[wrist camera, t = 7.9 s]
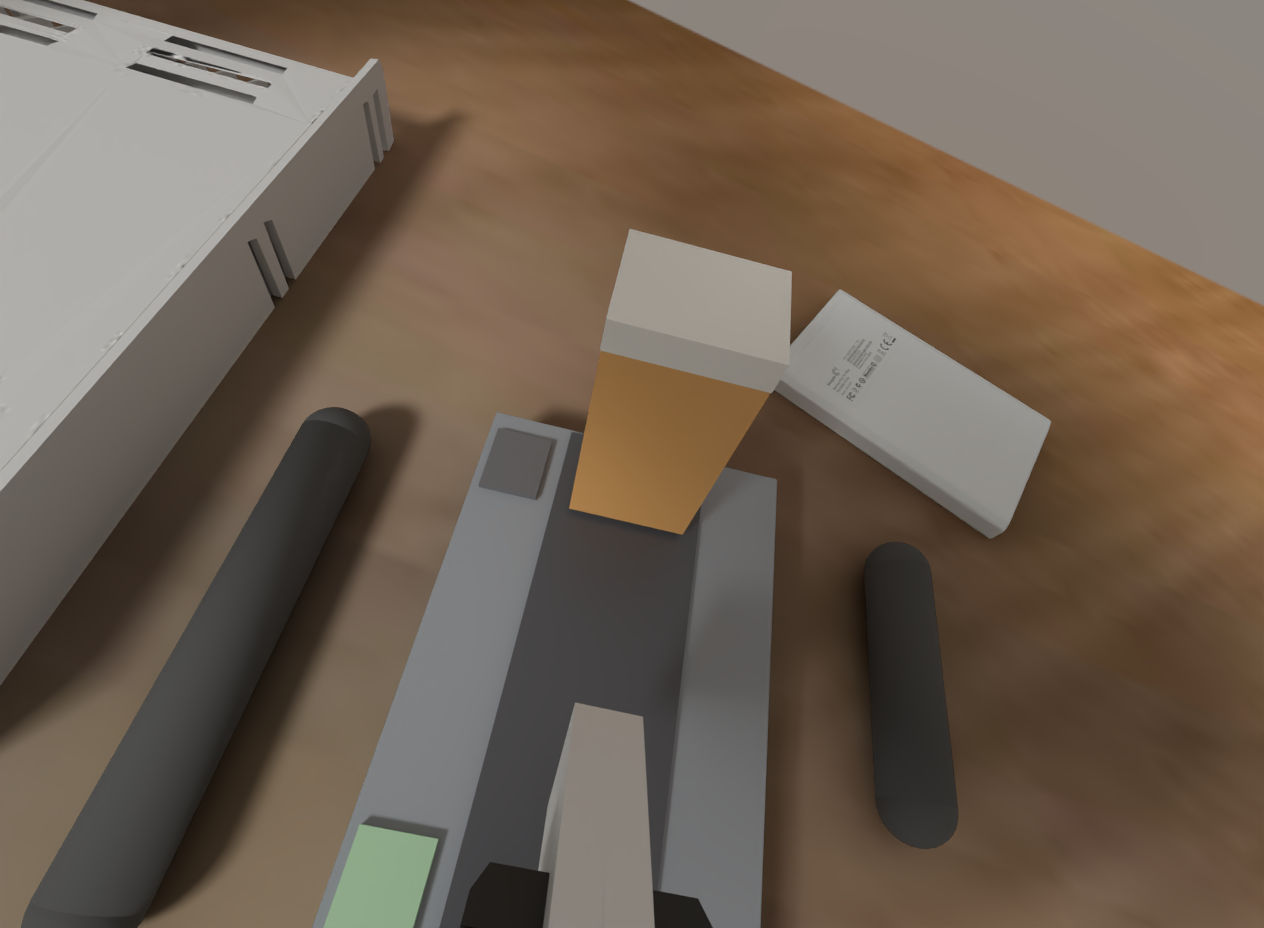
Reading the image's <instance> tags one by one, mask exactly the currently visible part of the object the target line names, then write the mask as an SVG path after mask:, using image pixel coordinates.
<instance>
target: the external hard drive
mask: <svg viewBox="0 0 1264 928" xmlns="http://www.w3.org/2000/svg"><path fill="white" fill-rule="evenodd" d="M774 390H775V391H776V392H778V393H779V394H780V395H782V396H783V397H785V398H786V399H788V400H789V401H791V402H792V403H793V404H795V405H796V406H798V407H799V408H801V409H802V410H804V411H805V412H807V413H808V414H809V415H811V416H812V417H814V418H815V419H817V420H818V421H820V422H821V423H822V424H824V425H825V426H827V427H828V428H830V429H831V430H833V431H834V432H835V433H837V434H838V435H840V436H841V437H843V438H844V439H846V440H847V441H848V442H850V443H851V444H853V445H854V446H856V447H857V448H859V449H860V450H862V451H863V452H864V453H866V454H867V455H869V456H870V457H872V458H873V459H875V460H876V461H877V462H879V463H880V464H882V465H883V466H885V467H886V468H888V469H889V470H891V471H892V472H893V473H895V474H896V475H898V476H899V477H901V478H902V479H904V480H905V481H906V482H908V483H909V484H911V485H912V486H914V487H915V488H916V489H918V490H919V491H921V492H922V493H924V494H925V495H927V496H928V497H929V498H931V499H932V500H934V501H935V502H937V503H938V504H940V505H941V506H943V507H944V508H946V509H947V510H948V511H950V512H951V513H953V514H954V515H956V516H957V517H958V518H960V519H961V520H963V521H964V522H966V523H967V524H969V525H970V526H972V527H973V528H974V529H976V530H977V531H979V532H980V533H982V534H983V535H985V536H986V537H987V538H989V539H992V538H994V537H995V536H997V535H999V534H1001V533H1003V532H1004V531H1005V530H1006V528H1007V527H1008V525H1009V523H1010V521H1011V519H1012V517H1013V514H1014V512H1015V510H1016V507H1017V505H1018V502H1019V500H1020V498H1021V495H1022V493H1023V490H1024V488H1025V485H1026V483H1027V481H1028V478H1029V476H1030V474H1031V471H1032V469H1033V466H1034V463H1035V462H1036V460H1037V457H1038V454H1039V452H1040V449H1041V447H1042V445H1043V442H1044V440H1045V438H1046V435H1047V433H1048V430H1049V428H1050V424H1051V421H1050V420H1049V419H1047V418H1046V417H1044V416H1043V415H1041V414H1039V413H1038V412H1036V411H1035V410H1033V409H1031V408H1030V407H1028V406H1027V405H1025V404H1023V403H1022V402H1020V401H1019V400H1017V399H1015V398H1014V397H1012V396H1011V395H1009V394H1008V393H1006V392H1004V391H1003V390H1001V389H1000V388H998V387H996V386H995V385H993V384H991V383H990V382H988V381H987V380H985V379H983V378H982V377H980V376H979V375H977V374H975V373H974V372H972V371H971V370H969V369H967V368H966V367H964V366H963V365H961V364H959V363H958V362H956V361H954V360H953V359H951V358H950V357H948V356H947V355H945V354H943V353H942V352H940V351H939V350H937V349H935V348H934V347H932V346H931V345H929V344H927V343H926V342H924V341H923V340H921V339H919V338H918V337H916V336H915V335H913V334H911V333H910V332H908V331H906V330H905V329H903V328H902V327H900V326H898V325H897V324H895V323H894V322H892V321H890V320H889V319H887V318H886V317H884V316H882V315H881V314H879V313H878V312H876V311H874V310H873V309H871V308H870V307H868V306H866V305H865V304H863V303H861V302H860V301H858V300H857V299H856V298H854V297H852V296H851V295H849V294H847V293H846V292H844V291H843V290H841V289H839V290H838V291H837V292H836V294H835V295H834V296H833V297H832V298H831V299H830V300H829V302H828V303H827V304H826V305H825V306H824V307H823V309H822V310H821V311H820V312H819V313H818V314H817V315H816V317H815V318H814V319H813V320H812V321H811V322H810V323H809V324H808V326H807V327H806V328H805V329H804V330H803V331H802V332H801V334H800V335H799V336H798V337H797V338H796V339H795V340H794V341H793V343H792V344H791V345H790V358H789V367H788V368H787V370H786V371H785V373H784V375H783V376H782V378H781V379H780V381H779V383H778V384H777V386H776V387H775V389H774Z"/></svg>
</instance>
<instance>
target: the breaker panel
mask: <svg viewBox="0 0 1264 928" xmlns="http://www.w3.org/2000/svg"><path fill="white" fill-rule="evenodd" d="M583 437H584V433H581V432H577V431H573V430H568V429H564V428H560V427H556V426H552V425H548V424H543V423H539V422H535V421H531V420H527V419H523V418H518V417H514V416H510V415H506V414H502V413H498V412H496V415H495V418H494V421H493V424H492V426H491V429H490V432H489V435H488V438H487V440H486V443H485V446H484V449H483V451H482V454H481V457H480V460H479V463H478V465H477V468H476V471H475V474H474V477H473V479H472V482H471V485H470V488H469V491H468V493H467V496H466V499H465V502H464V505H463V507H462V510H461V513H460V516H459V518H458V521H457V524H456V527H455V530H454V532H453V535H452V538H451V541H450V544H449V546H448V549H447V552H446V555H445V558H444V560H443V563H442V566H441V569H440V572H439V574H438V577H437V580H436V583H435V586H434V588H433V591H432V594H431V597H430V599H429V602H428V605H427V608H426V611H425V613H424V616H423V619H422V622H421V625H420V627H419V630H418V633H417V636H416V639H415V641H414V644H413V647H412V650H411V653H410V655H409V658H408V661H407V664H406V667H405V669H404V672H403V675H402V678H401V680H400V683H399V686H398V689H397V692H396V694H395V697H394V700H393V703H392V706H391V708H390V711H389V714H388V717H387V720H386V722H385V725H384V728H383V731H382V734H381V736H380V739H379V742H378V745H377V747H376V750H375V753H374V756H373V759H372V761H371V764H370V767H369V770H368V773H367V775H366V778H365V781H364V784H363V787H362V789H361V792H360V795H359V798H358V801H357V803H356V806H355V809H354V812H353V815H352V817H351V820H350V823H349V826H348V828H347V831H346V834H345V837H344V840H343V842H342V845H341V848H340V851H339V854H338V856H337V859H336V862H335V865H334V868H333V870H332V873H331V876H330V879H329V882H328V884H327V887H326V890H325V893H324V896H323V898H322V901H321V904H320V907H319V909H318V912H317V915H316V918H315V921H314V923H313V926H312V928H460V925H461V921H462V917H463V913H464V909H465V906H466V902H467V898H468V894H469V890H470V888H471V887H472V886H473V884H474V883H475V882H476V880H477V879H478V878H479V876H480V875H481V874H482V872H483V871H484V870H485V868H486V867H487V865H488V864H489V863H490V862H494V863H499V864H505V865H510V866H515V867H521V868H526V869H531V870H537V871H538V868H539V861H540V854H541V848H542V841H543V834H544V828H545V821H546V814H547V807H548V803H549V799H550V795H551V792H552V788H553V784H554V780H555V776H556V773H557V769H558V765H559V761H560V758H561V754H562V750H563V746H564V742H565V739H566V735H567V731H568V727H569V724H570V720H571V716H572V712H573V708H574V705H575V703H580V704H585V705H590V706H594V707H599V708H604V709H609V710H614V711H618V712H623V713H628V714H633V715H637V716H642V717H643V725H644V743H645V761H646V779H647V797H648V815H649V833H650V852H651V870H652V888H653V890H656V891H661V892H666V893H672V894H677V895H683V896H688V897H693V898H698V899H699V901H700V903H701V905H702V907H703V909H704V911H705V913H706V915H707V917H708V919H709V921H710V923H711V925H712V927H713V928H760V924H761V898H762V871H763V844H764V818H765V791H766V764H767V738H768V711H769V684H770V657H771V631H772V604H773V577H774V551H775V524H776V497H777V479H773V478H769V477H765V476H760V475H756V474H752V473H748V472H744V471H740V470H735V469H731V468H727V467H724V469H723V470H722V472H721V474H720V475H719V477H718V478H717V480H716V482H715V483H714V485H713V487H712V488H711V490H710V491H709V493H708V495H707V496H706V498H705V499H704V501H703V503H702V504H701V506H700V507H699V509H698V511H697V512H696V514H695V516H694V517H693V519H692V520H691V522H690V524H689V525H688V527H687V528H686V530H685V532H684V533H683V535H682V534H677V533H673V532H669V531H664V530H660V529H656V528H651V527H647V526H643V525H638V524H634V523H630V522H625V521H621V520H617V519H612V518H608V517H604V516H599V515H595V514H591V513H586V512H582V511H578V510H573V509H569V506H570V501H571V496H572V491H573V486H574V481H575V476H576V471H577V466H578V462H579V457H580V452H581V447H582V442H583Z"/></svg>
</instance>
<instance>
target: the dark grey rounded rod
mask: <svg viewBox="0 0 1264 928" xmlns="http://www.w3.org/2000/svg"><path fill="white" fill-rule="evenodd" d="M370 444H371V437H370V431H369V429H368V427H367V425H366V423H365V422H364V421H363V420H362V418H361V417H359V416H358V415H357V414H355V413H354V412H352V411H349V410H347V409H344V408H339V407H330V408H324V409H321V410H318V411H316V412H314V413H313V414H311V415H310V416H309V417H308V418H306V420H305V421H304V423H303V424H302V425H301V427H300V429H299V431H298V432H297V434H296V436H295V438H294V439H293V441H292V443H291V445H290V446H289V448H288V450H287V452H286V453H285V455H284V457H283V459H282V460H281V462H280V464H279V466H278V467H277V469H276V471H275V473H274V475H273V476H272V478H271V480H270V482H269V483H268V485H267V487H266V489H265V490H264V492H263V494H262V496H261V497H260V499H259V501H258V503H257V504H256V506H255V508H254V510H253V511H252V513H251V515H250V517H249V518H248V520H247V522H246V524H245V525H244V527H243V529H242V531H241V532H240V534H239V536H238V538H237V539H236V541H235V543H234V545H233V546H232V548H231V550H230V552H229V553H228V555H227V557H226V559H225V560H224V562H223V564H222V566H221V567H220V569H219V571H218V573H217V574H216V576H215V578H214V580H213V581H212V583H211V585H210V587H209V588H208V590H207V592H206V594H205V595H204V597H203V599H202V601H201V602H200V604H199V606H198V608H197V609H196V611H195V613H194V615H193V617H192V618H191V620H190V622H189V624H188V625H187V627H186V629H185V631H184V632H183V634H182V636H181V638H180V639H179V641H178V643H177V645H176V646H175V648H174V650H173V652H172V653H171V655H170V657H169V659H168V660H167V662H166V664H165V666H164V667H163V669H162V671H161V673H160V674H159V676H158V678H157V680H156V681H155V683H154V685H153V687H152V688H151V690H150V692H149V694H148V695H147V697H146V699H145V701H144V702H143V704H142V706H141V708H140V709H139V711H138V713H137V715H136V716H135V718H134V720H133V722H132V723H131V725H130V727H129V729H128V730H127V732H126V734H125V736H124V737H123V739H122V741H121V743H120V744H119V746H118V748H117V750H116V751H115V753H114V755H113V757H112V759H111V760H110V762H109V764H108V766H107V767H106V769H105V771H104V773H103V774H102V776H101V778H100V780H99V781H98V783H97V785H96V787H95V788H94V790H93V792H92V794H91V795H90V797H89V799H88V801H87V802H86V804H85V806H84V808H83V809H82V811H81V813H80V815H79V816H78V818H77V820H76V822H75V823H74V825H73V827H72V829H71V830H70V832H69V834H68V836H67V837H66V839H65V841H64V843H63V844H62V846H61V848H60V850H59V851H58V853H57V855H56V857H55V858H54V860H53V862H52V864H51V865H50V867H49V869H48V871H47V872H46V874H45V876H44V878H43V879H42V881H41V883H40V885H39V886H38V888H37V890H36V892H35V894H34V895H33V897H32V899H31V901H30V903H29V905H28V907H27V909H26V912H25V914H24V917H23V921H22V925H21V928H137V927H138V926H139V925H140V923H141V922H142V920H143V918H144V916H145V915H146V913H147V911H148V909H149V907H150V905H151V903H152V901H153V899H154V897H155V895H156V893H157V891H158V888H159V886H160V884H161V882H162V880H163V878H164V876H165V874H166V872H167V870H168V868H169V866H170V864H171V861H172V859H173V857H174V855H175V853H176V851H177V849H178V847H179V845H180V843H181V841H182V839H183V837H184V834H185V832H186V830H187V828H188V826H189V824H190V822H191V820H192V818H193V816H194V814H195V812H196V809H197V807H198V805H199V803H200V801H201V799H202V797H203V795H204V793H205V791H206V789H207V787H208V785H209V782H210V780H211V778H212V776H213V774H214V772H215V770H216V768H217V766H218V764H219V762H220V760H221V758H222V755H223V753H224V751H225V749H226V747H227V745H228V743H229V741H230V739H231V737H232V735H233V733H234V731H235V728H236V726H237V724H238V722H239V720H240V718H241V716H242V714H243V712H244V710H245V708H246V706H247V704H248V701H249V699H250V697H251V695H252V693H253V691H254V689H255V687H256V685H257V683H258V681H259V679H260V677H261V674H262V672H263V670H264V668H265V666H266V664H267V662H268V660H269V658H270V656H271V654H272V652H273V650H274V647H275V645H276V643H277V641H278V639H279V637H280V635H281V633H282V631H283V629H284V627H285V625H286V623H287V620H288V618H289V616H290V614H291V612H292V610H293V608H294V606H295V604H296V602H297V600H298V598H299V595H300V593H301V591H302V589H303V587H304V585H305V583H306V581H307V579H308V577H309V575H310V573H311V571H312V568H313V566H314V564H315V562H316V560H317V558H318V556H319V554H320V552H321V550H322V548H323V546H324V544H325V541H326V539H327V537H328V535H329V533H330V531H331V529H332V527H333V525H334V523H335V521H336V519H337V517H338V514H339V512H340V510H341V508H342V506H343V504H344V502H345V500H346V498H347V496H348V494H349V492H350V490H351V487H352V485H353V483H354V481H355V479H356V477H357V475H358V473H359V471H360V469H361V467H362V465H363V463H364V460H365V458H366V456H367V454H368V452H369V449H370Z"/></svg>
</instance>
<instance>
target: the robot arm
mask: <svg viewBox="0 0 1264 928" xmlns="http://www.w3.org/2000/svg"><path fill="white" fill-rule="evenodd" d="M460 928H713V927H712V925H711V923H710V921H709V919H708V917H707V915H706V913H705V911H704V909H703V907H702V905H701V903H700V901H699V899H698V898H693V897H688V896H683V895H677V894H672V893H666V892H661V891H656V890H653V888H652V870H651V852H650V833H649V815H648V797H647V779H646V761H645V743H644V725H643V717H642V716H637V715H633V714H628V713H623V712H618V711H614V710H609V709H604V708H599V707H594V706H590V705H585V704H580V703H575V705H574V708H573V712H572V716H571V720H570V724H569V727H568V731H567V735H566V739H565V742H564V746H563V750H562V754H561V758H560V761H559V765H558V769H557V773H556V776H555V780H554V784H553V788H552V792H551V795H550V799H549V803H548V807H547V814H546V821H545V828H544V834H543V841H542V848H541V854H540V861H539V868H538V871H537V870H531V869H526V868H521V867H515V866H510V865H505V864H499V863H494V862H490V863H489V864H488V865H487V867H486V868H485V870H484V871H483V872H482V874H481V875H480V876H479V878H478V879H477V880H476V882H475V883H474V884H473V886H472V887H471V888H470V890H469V894H468V898H467V902H466V906H465V909H464V913H463V917H462V921H461V925H460Z"/></svg>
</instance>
